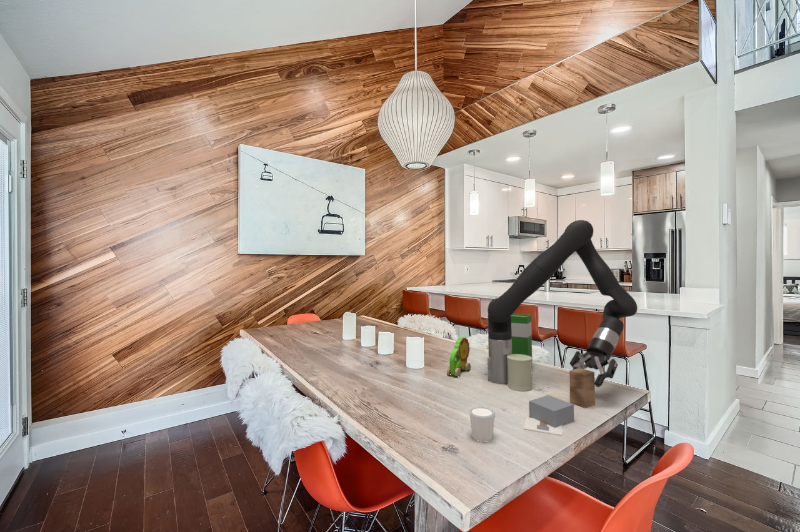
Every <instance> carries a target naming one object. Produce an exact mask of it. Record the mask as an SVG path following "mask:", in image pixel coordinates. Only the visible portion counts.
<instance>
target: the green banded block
mask: <svg viewBox="0 0 800 532" xmlns="http://www.w3.org/2000/svg"><path fill="white" fill-rule="evenodd" d="M532 326H533V325H532V314H526V313H524V314H523V313H513V314H512V315H511V329H512V354H522V355H528V356H530V357H532V358H533V337H532V336H533V330H532ZM487 347H488V348H487V349H488V351H489V345H488V346H487Z"/></svg>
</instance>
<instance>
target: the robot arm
mask: <svg viewBox="0 0 800 532" xmlns="http://www.w3.org/2000/svg"><path fill="white" fill-rule="evenodd" d="M593 236H594V227H593V225H592V223H591V222H590V221H587V220H584V219H580V220H575V221H574V220H573V222H570V223H569V224H568V225H567V226H566V228H565V229H564V232H563V233H562V234H561V235H560V236H559V238H558V239H557V240H556V241H555V242H554V243H553V244H552V245H551V246H549V247H548V248H546V249H545V250H544V251H543V252H541V253H540V254H539V255H538V256H536V257H535V258H534V259H533V260H532V261H531V262H530V263H529V264H528V265H527V266H526V267H525V268H524V269H523V270H522V271H521V272H520V274H518V276H517V278H516V279H515V280H514V282H513V283H512V285H511V286H510V287H509V288H508V289H507V290H506V291H505V292H503V293H502V294H501V295H500V296H499V297H496V298H493V299H491V301H490V302H489V303H488V306H487V336H488V337H487V340H488V341H487V343H488V345H489V350H488V356H487V381H488V382H491V381H492V383H494V384H499V385H500V384H504V385H506V384H507V385H508V364H507V356H508V355H511V354H512V329H511V315H512V314H515V311H516V310H517V309H518V308H519V307H520V306H521V305H522V304H523V303H524V301H526V300H527V299H528V298H530V296H532V295H533V294H535V293H536V292H537V291H538V290H539V289H540V288H542V287H543V286H544V285H545V283H547V282H548V281H549V279H550V280H551V278H552V277H553V276H554V275H555V273H556V272H557V271H558V270H559V269H560V268H561V267H562V266H563V265H564V263H565V262H566V261H567V260H568V258H570V257H571V255H573V254H575V252H576V254H577V255H578V257H579V259H581V261H582V262H583V264H584V266H585V268H586V270H587V271H588V273H589V275H590V277H591V279H592V281H593V282H594V284H595V286H596V288H597V289H598V291H599V292H600V294H601V295H603V296H606V297H611V298H612V299H611V300H608V302H607V303H605V305H604V307H603V312H602V320H601V322H600V324H599V326H598V327H597V330H596V331H595V332H594V334H593V335H592V338H591V340H590V342H589V344H588V345H587V348H586V352H585V353H581V352H580V351H579V350H576V352H574V355H573V357H572V358H571V359H570V362H569V364H570V365H569V366H570V367H572V370H574V369H577V368H581V369H585V370H587V369H588V368H589V369H594V370H596V371H599V374H598V375H597V377H596V378H595V383H594V384H595V388H600V387H601V386H603V383H604V382H605V380H606V379H607V378H609V379H613V378H614V376H615V374H616V370H617V368H618V365H619V363H618V362H617V361H616V359H614V358H612V359H611V357H612V356H613V353H614V351H615V349H616V347H617V345H618V342H619V338H620V336H621V334H622V333H623V330H624V328H625V326H624V325H625V324H624V322H623V321H622V320H621V318H622V319H624V318H629V317H632V316H635V315H636V314H637V312H638V305H637V302H636V300H635V299H634V298H633V296H632V295H630V294H631V293H629V292H628V291H627V290H626V289H625V288H624V287H623V286H622V285H621V284H620V283H619V281H618V279H617V277H616V276H615V274H614V273H613V271H612V269H611V268H610V266H609V265H608V263H606V261H605V260H604V259H603V258H602V256H601V255H600V254H599V252H598V251H597V249H596V247H595V245H594V244H593V241H592V238H593ZM607 365H608V366H607ZM605 366H607V369H606V368H605Z"/></svg>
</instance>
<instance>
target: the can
mask: <svg viewBox="0 0 800 532" xmlns="http://www.w3.org/2000/svg"><path fill="white" fill-rule="evenodd" d="M507 364H508V383H507V386H506V387H508V389H509V390H513V391H516V390H517V392H529V390H530V391H532V390H533V388H534V386H533V356H532V357H530V356H528V355H522V354H511V355H508V356H507Z"/></svg>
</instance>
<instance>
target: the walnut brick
mask: <svg viewBox="0 0 800 532" xmlns="http://www.w3.org/2000/svg"><path fill="white" fill-rule="evenodd" d="M568 371H569V373H568V374H569V376H568V377H569V403H572V404H574V406H577V407H579V406H580V407H579V408H583V409H588V408H591V407H593V406H596V393H595V392H596V389H595V388H596V385H595V384H594V383H595V381H596V378H595V371H592V370H588V369H581V368H577V369H574V370H573V369H571V370H568Z"/></svg>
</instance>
